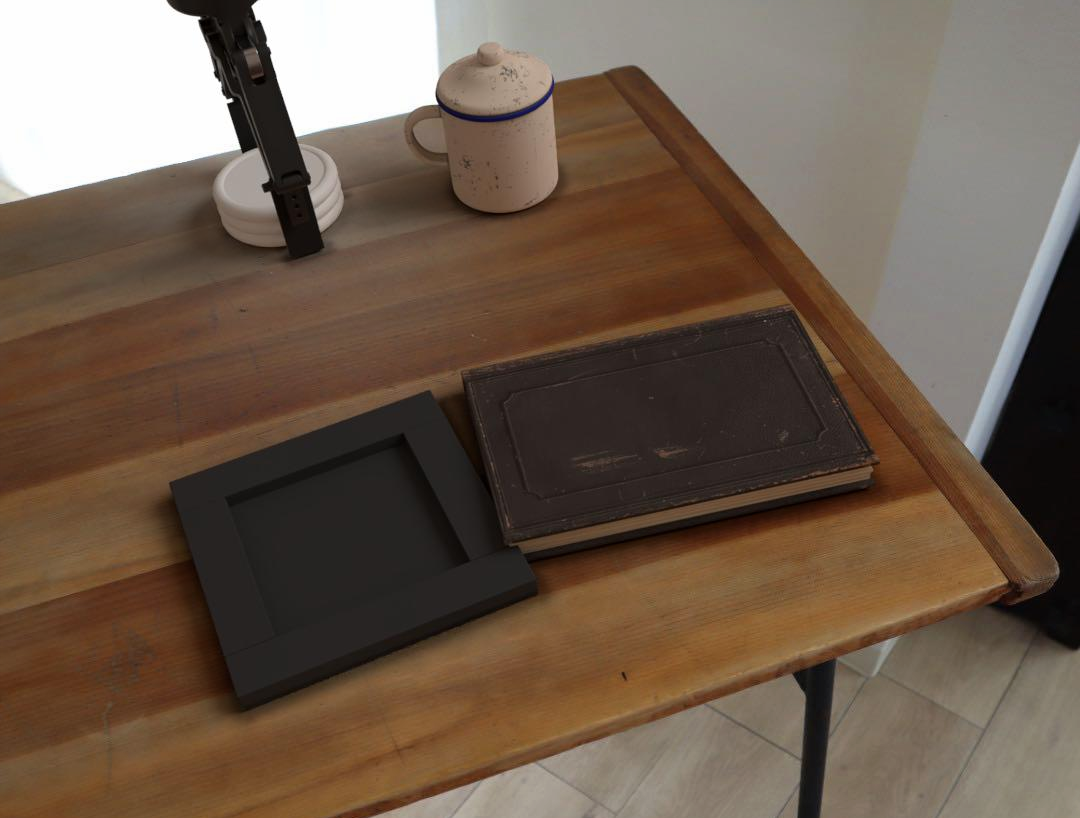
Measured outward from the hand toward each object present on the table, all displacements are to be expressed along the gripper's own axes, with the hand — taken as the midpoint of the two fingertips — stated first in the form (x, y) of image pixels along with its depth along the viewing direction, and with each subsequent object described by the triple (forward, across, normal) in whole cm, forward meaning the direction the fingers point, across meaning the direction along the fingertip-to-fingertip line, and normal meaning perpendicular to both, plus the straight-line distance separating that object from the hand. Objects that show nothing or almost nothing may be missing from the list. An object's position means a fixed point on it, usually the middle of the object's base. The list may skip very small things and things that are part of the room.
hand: (285, 210), depth 96 cm
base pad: (0, -36, +6) cm, 37 cm away
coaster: (0, 0, 0) cm, 0 cm away
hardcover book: (0, -37, -15) cm, 40 cm away
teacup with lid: (0, -5, -16) cm, 17 cm away
